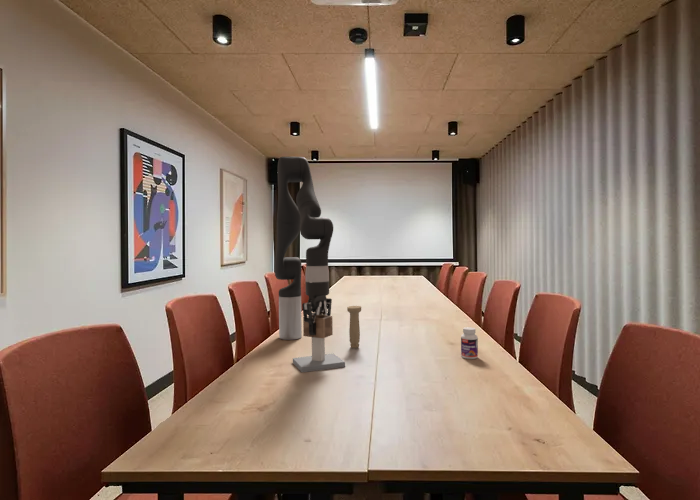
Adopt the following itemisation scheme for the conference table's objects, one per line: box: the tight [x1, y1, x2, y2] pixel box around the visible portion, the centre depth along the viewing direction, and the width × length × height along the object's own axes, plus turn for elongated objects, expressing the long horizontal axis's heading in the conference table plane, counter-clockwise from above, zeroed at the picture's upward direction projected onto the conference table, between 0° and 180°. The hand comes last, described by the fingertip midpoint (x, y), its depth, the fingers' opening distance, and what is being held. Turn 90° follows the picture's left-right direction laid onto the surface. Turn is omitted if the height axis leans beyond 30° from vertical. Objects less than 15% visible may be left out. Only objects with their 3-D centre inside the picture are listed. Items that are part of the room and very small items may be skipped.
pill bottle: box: [460, 326, 479, 360], centre depth 137 cm, size 5×5×10 cm
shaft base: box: [292, 337, 346, 373], centre depth 130 cm, size 11×14×10 cm
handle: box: [346, 305, 362, 349], centre depth 152 cm, size 5×6×15 cm
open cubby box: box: [302, 314, 334, 339], centre depth 130 cm, size 7×6×6 cm
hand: (317, 332), depth 130 cm, fingers closed on open cubby box, 5 cm apart
